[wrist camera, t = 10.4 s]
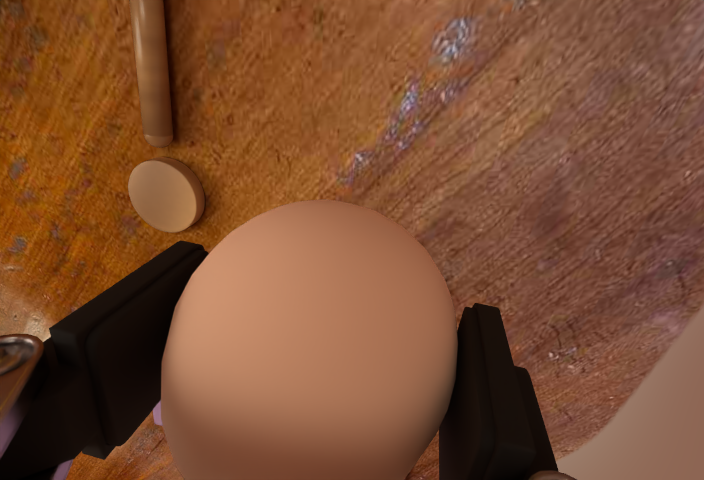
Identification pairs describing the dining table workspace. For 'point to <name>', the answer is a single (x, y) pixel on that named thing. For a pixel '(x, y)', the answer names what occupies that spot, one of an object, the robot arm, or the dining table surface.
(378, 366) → the egg
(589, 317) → the dining table surface
